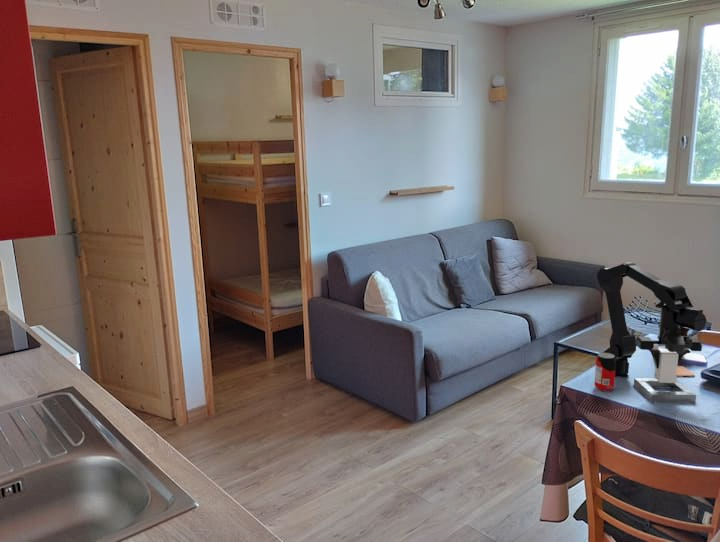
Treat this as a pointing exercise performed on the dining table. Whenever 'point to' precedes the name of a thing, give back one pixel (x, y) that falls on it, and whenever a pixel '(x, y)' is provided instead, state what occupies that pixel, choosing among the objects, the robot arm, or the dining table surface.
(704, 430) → the dining table surface
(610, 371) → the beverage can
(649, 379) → the bore housing
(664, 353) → the end plug
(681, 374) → the terracotta tile
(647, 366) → the dining table surface
